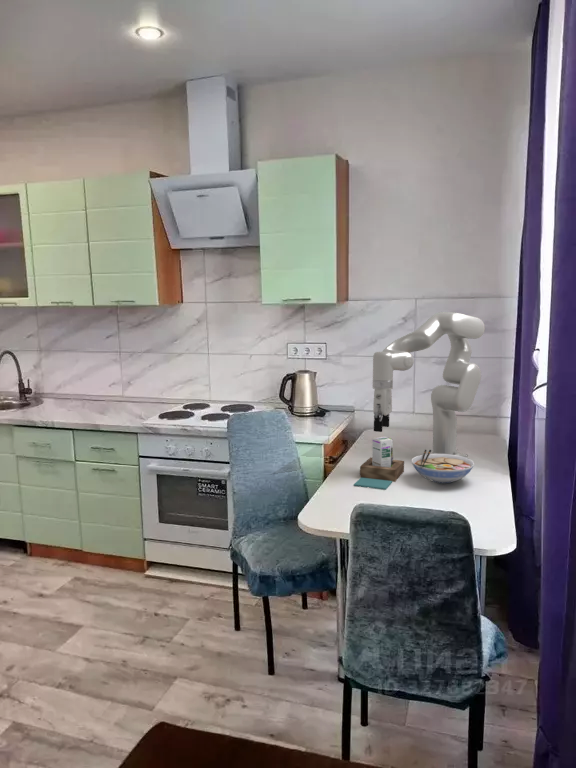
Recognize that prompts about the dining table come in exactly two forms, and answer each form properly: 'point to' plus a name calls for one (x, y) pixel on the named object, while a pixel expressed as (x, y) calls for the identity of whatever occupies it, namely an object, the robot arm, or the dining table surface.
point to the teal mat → (373, 483)
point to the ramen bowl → (442, 466)
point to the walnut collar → (382, 470)
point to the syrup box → (382, 452)
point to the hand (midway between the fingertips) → (381, 429)
